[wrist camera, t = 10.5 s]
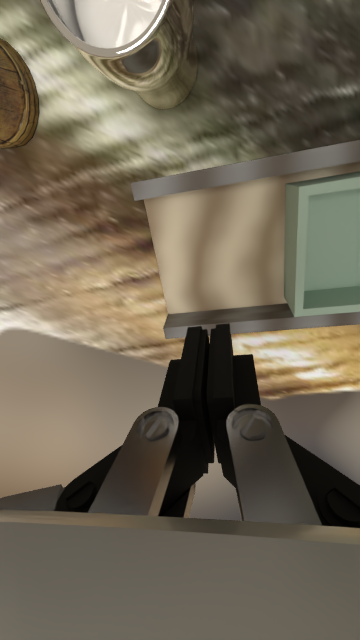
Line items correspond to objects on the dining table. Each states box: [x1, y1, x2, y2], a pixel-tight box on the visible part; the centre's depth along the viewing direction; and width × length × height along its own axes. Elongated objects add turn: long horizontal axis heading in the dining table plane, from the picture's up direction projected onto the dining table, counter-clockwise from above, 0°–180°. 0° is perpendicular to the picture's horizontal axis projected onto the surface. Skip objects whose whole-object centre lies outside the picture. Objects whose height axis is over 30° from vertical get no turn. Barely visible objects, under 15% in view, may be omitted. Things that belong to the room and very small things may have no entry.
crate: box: [284, 171, 360, 317], centre depth 26 cm, size 10×12×5 cm
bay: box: [131, 140, 360, 339], centre depth 28 cm, size 26×17×6 cm, turn 99°
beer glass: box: [40, 0, 198, 109], centre depth 18 cm, size 7×7×15 cm
